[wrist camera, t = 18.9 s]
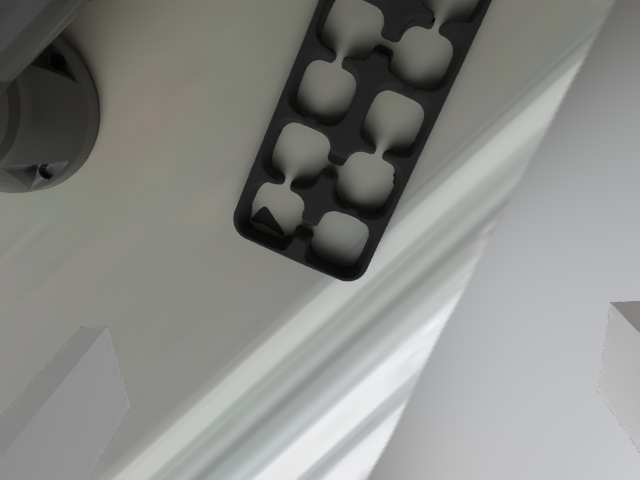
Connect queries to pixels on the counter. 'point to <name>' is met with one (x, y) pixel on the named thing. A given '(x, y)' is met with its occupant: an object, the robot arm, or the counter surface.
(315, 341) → the counter surface
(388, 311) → the counter surface
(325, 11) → the egg carton
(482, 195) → the counter surface
